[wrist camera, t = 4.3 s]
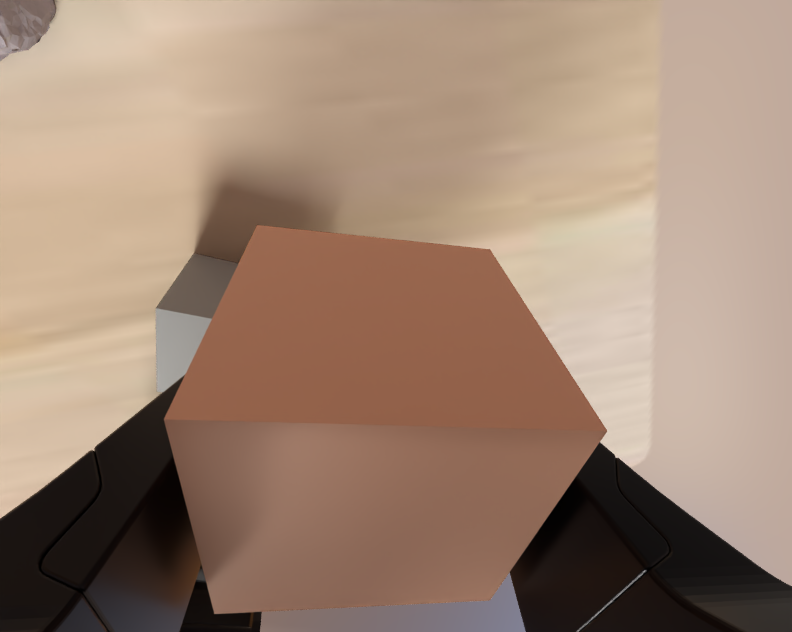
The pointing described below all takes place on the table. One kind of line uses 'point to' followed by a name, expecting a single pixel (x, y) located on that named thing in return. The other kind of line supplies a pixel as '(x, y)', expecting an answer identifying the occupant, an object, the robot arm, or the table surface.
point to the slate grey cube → (188, 314)
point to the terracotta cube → (371, 426)
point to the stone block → (23, 24)
